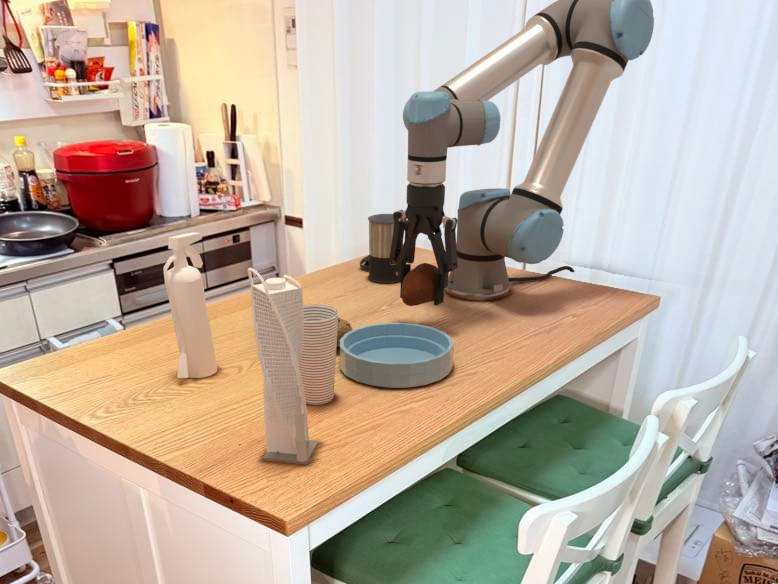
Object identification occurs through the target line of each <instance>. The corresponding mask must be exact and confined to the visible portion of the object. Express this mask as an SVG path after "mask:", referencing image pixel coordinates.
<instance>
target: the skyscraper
mask: <svg viewBox="0 0 778 584" xmlns="http://www.w3.org/2000/svg"><path fill="white" fill-rule="evenodd" d="M252 273H254V274H255V275H256V276H257V277H258V278H259V280H260V282H261V283H257V284H254V279H253V276H252ZM247 275H248V280H249V285H250V296H251V311H252V323H253V329H254V330H253V332H254V339H255V346H256V351H257V356H258V360H259V365H260V368H261V372H262V375H263V415H264V416H263V417H264V418H263V419H264V432H265V433H264V436H265V451H266V452H265V454H264V455H263V457H262V461H268V462H276V463H277V462H278V463H285V464H287V463H288V464H297V465H304V466H305V465H306V466H307V465H308V463H309V461H310V460H311V458H312V456H313V454H314V452H315V451H316V449H317V447H318V445H319V441H318V440H310V438H309V437H310V436H309V423H308V412H307V411H308V409H307V403H306V401H305V394H304V388H303V383H302V378H301V374H300V370H299V366H300V361H301V355H302V347H303V335H304V311H303V305H304V295H303V286H302V284H301V283H300V282H299V281H297V279H296V278H293V277H292V276H290V275H288V274H284V275H283V276H282V277H269V278H267V279H264V278H263V276H262V275H261V274H260V273H259V272H258V271H257V270H256V269H255V268H253V267H248V269H247ZM288 280H289V281H288ZM290 281H291V282H290Z"/></svg>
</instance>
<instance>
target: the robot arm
mask: <svg viewBox="0 0 778 584" xmlns="http://www.w3.org/2000/svg"><path fill="white" fill-rule="evenodd" d="M654 25H655V17H654V8H653V4H652V2H651V0H555V1H554V2H552V3H550V4H549V5H548V6H546V7H545V8H543V9H542V10H539V12H537V13H536V14H534V15H532V16H531V17H530V18H529V19H527V21H526V23H525V26H524V28H523V29H522V30H520V31H519V32H517V33H516V34H514V35H513V36H511V37H510V38H509V39H507V40H506V41H504V42H503V43H501V44H499V46H497V47H496V48H495V49H493V50H491V51H490V52H488V53H487V54H486V55H484V56H482V57H481V58H480V59H478V60H476V61H475V62H474V63H472V64H471V65H470V66H468V67H467V68H465V69H463V70H462V71H461V72H459V73H458V74H456V75H455V76H454V77H452V78H451V79H449V80H447V81H446V82H445V83H443V84H442V85H440V86H439V87H437V88H436V89H434V90H433V91H431V90H430V91H425V90H424V91H416V92H414V93H412V94H411V96H410V97H409V99H407V101H406V102H405V105H404V107H403V110H402V120H403V121H402V122H403V125H404V127H405V129H406V131H407V172H406V173H407V174H406V175H407V176H406V180H407V182H408V184H407V186H406V204H407V205H406V209H405V210H404V209H400V210H397V211H393V213H392V214H393V218H394V230H393V237H392V244H391V251H390V260H391V261H394V262H396V263H397V265H398V280H399V281H398V282H400V289H399V294H400V295H399V298H400V299H402V297H401V288H402V283H403V280H404V278H405V276H406V275H407V274H408V273H409V272H410V271H412V269H411V267H412V263H411V264H410V263H408V262H409V261H408V259H409V257H410V254H411V251H412V249H413V246H414V244H415V241H416V242H417V240H418V236H419V235H420V234H422V235H425V236H427V239H428V240H429V241H430V244H431V248H432V251H433V255H434V258H435V259H434V260H435V262H436V265H437V266H436V267H437V268H438V269H439V272H437V273H435V293H434V301H433V305H434V306H439V305H441V304H443V303H444V302H445V301H444V300H445V299H444V298H445V297H444V296H445V290H446V292H447V294H448V295H450V296H451V297H454V298H457V299H460V300H466V301H476V302H477V301H480V302H482V301H483V302H484V301H495V300H499V299H502V298H505V297H507V296H508V295H509V294H510V288H511V287H510V286H511V285H510V283H511V282H512V283H513V282H533V281H543V280H545V279H549V277H550V276H552V275H555V274H557V273H560V272H561V271H562V272H563V271H569V272H570V273H575V270H574V268H573V267H572V266H569V265H564V266H560V267H558V268H555V269H553V270H550V271H548V272H547V273H546V274H544V275H537V276H522V277H509V275H508V269H507V265H506V260H505V258H507V259H510V260H513V261H514V262H517V263H520V264H523V263H524V264H528V265H537V264H539V263H542V262H543V261H546V260H547V259H548V258H550V257H551V256H552V255H553V254H554V253H555V252H556V250H557V249H558V247H559V246H560V243H561V242H562V238H563V235H564V229H563V227H564V225H565V223H564V219H563V217H562V216H561V214H562V212H563V209H564V206H563V202H562V199H561V196H562V194H563V192H564V190H565V188H566V185H567V184H568V181H569V178H570V176H571V174H572V171H573V169H574V167H575V165H576V163H577V160H578V158H579V156H580V154H581V151H582V149H583V147H584V145H585V142H586V139H588V135H589V133H590V131H591V129H592V126H593V123H594V121H595V120H596V117H597V115H598V113H599V110H600V108H601V107H602V104H603V101H604V99H605V97H606V95H607V92H608V90H609V87H610V85H611V83H612V82H613V81H614V80H616V79H618V78H620V77H622V76H623V74H624V72H625V69H626V67H627V65H628V64H629V61H634V60H635V59H638V58H639V57H640V56H643V54H644V53H645V52H646V51H647V49H648V47H649V45H650V43H651V41H652V37H653V33H654ZM564 57H570V58H571V62H572V68H571V69H570V72H569V75H568V76H567V79H566V82H565V84H564V87H563V88H562V91H561V93H560V95H559V98H558V100H557V103H556V104H555V107H554V110H553V112H552V114H551V117H550V119H549V121H548V124H547V127H546V129H545V131H544V132H543V133H544V134H543V135H542V138H541V140H540V142H539V145H538V147H537V150H536V152H535V154H534V157H533V160H532V161H531V164H530V167H529V168H528V171H527V174H526V175H525V178H524V180H523V182H522V183H520V184H517V185H515V186H514V187H513V189H512V190H510V189H509V188H502V187H501V188H480V189H473V190H467V191H465V192H463V193H461V195H460V196H459V202H458V208H457V217H452V218H451V217H449V216H447V215H446V214H445V212H444V205H445V200H446V199H445V195H446V186H445V184H444V183H445V182H446V180H447V179H446V178H447V158H448V148H455V147H467V146H481V145H485V144H489V143H491V142H493V141H494V140H495V139H496V138H497V137H498V134H499V132H500V128H501V120H502V119H501V114H500V110H499V108H498V106H497V105H496V103H495V102H493V101H491V99H492V98H494V97H495V96H496V95H498V94H499V93H501V92H503V91H504V90H505V89H506V88H508V87H510V86H511V85H513V84H514V83H515V82H517V81H518V80H520V79H521V78H523V77H524V76H525V75H527V74H528V73H530V72H531V71H532V70H535V68H537V67H539V66H540V65H542V66H548V65H550V64H552V63H553V62H555V61H556V60H558V59H560V58H564ZM406 220H408V221H409V223H410V225H409V228H408V231H407V236H406V239H405V221H406ZM442 224H443V225H442ZM441 225H442V228H443V229H444V231H443V232H444V233H443V232H442V229H441ZM443 234H444V235H443ZM442 235H443V236H444V242H443V238H442ZM402 243H403V247H402Z"/></svg>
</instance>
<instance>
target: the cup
mask: <svg viewBox="0 0 778 584" xmlns="http://www.w3.org/2000/svg"><path fill="white" fill-rule="evenodd" d="M303 311H304V335H303V347H302V355H301V361H300V366H299V370H300V374H301V378H302V383H303V388H304V394H305V401H306V404H307V405H324V404H327V403H329V402H331V401H332V400H333V399H334V396H335V380H336V362H337V347H336V346H337V328H338V318H339V311H338V309H337V308H335V307H333V306H329V305H326V304H303Z"/></svg>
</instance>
